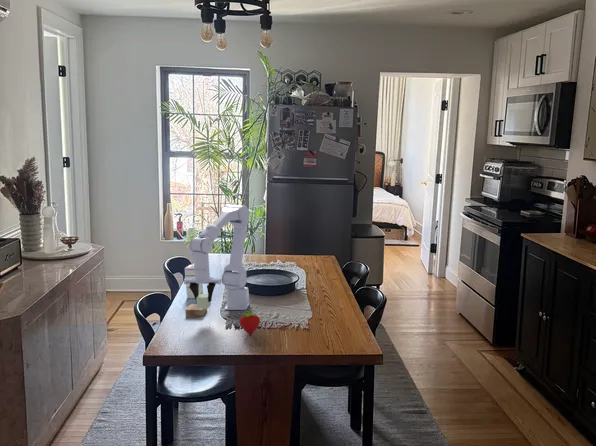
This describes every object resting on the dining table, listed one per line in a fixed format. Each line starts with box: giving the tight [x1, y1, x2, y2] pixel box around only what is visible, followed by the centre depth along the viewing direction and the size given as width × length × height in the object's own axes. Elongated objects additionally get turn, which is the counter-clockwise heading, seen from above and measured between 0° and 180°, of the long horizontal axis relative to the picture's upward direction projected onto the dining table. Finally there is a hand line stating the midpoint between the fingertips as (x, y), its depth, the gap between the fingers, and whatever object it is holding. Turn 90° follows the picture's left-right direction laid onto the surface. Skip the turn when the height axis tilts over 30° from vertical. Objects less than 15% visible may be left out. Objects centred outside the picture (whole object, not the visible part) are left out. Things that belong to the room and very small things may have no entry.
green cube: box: [195, 293, 212, 310], centre depth 203 cm, size 4×4×4 cm
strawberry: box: [239, 311, 261, 336], centre depth 190 cm, size 6×8×10 cm
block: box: [185, 303, 208, 318], centre depth 214 cm, size 7×7×4 cm
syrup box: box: [184, 264, 204, 299], centre depth 236 cm, size 6×6×14 cm
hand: (203, 301), depth 203 cm, fingers closed on green cube, 4 cm apart
